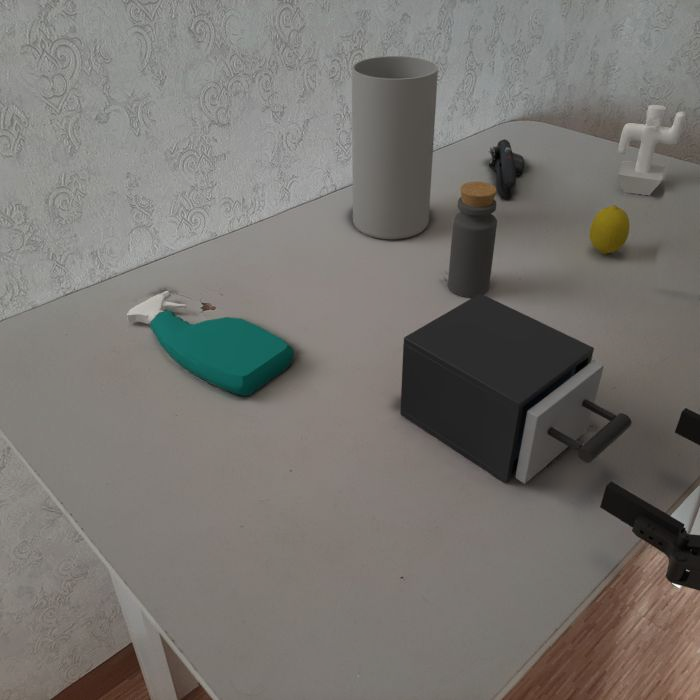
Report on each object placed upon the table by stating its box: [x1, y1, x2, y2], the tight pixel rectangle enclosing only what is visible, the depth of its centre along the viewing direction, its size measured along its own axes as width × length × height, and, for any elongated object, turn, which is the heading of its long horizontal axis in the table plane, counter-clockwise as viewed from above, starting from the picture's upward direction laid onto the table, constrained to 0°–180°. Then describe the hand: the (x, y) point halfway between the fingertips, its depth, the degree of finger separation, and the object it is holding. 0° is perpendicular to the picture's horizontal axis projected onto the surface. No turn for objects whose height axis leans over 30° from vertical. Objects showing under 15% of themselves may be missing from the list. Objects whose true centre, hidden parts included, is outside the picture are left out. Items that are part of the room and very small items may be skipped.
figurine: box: [617, 104, 687, 196], centre depth 125 cm, size 7×9×15 cm
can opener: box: [488, 139, 526, 200], centre depth 131 cm, size 18×7×6 cm, turn 170°
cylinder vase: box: [351, 55, 439, 240], centre depth 111 cm, size 12×12×25 cm
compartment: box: [514, 359, 633, 485], centre depth 73 cm, size 18×11×9 cm, turn 43°
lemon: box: [589, 204, 630, 255], centre depth 107 cm, size 6×6×8 cm
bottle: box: [447, 181, 498, 298], centre depth 98 cm, size 6×6×15 cm
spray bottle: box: [126, 290, 295, 397], centre depth 91 cm, size 3×11×24 cm
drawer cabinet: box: [399, 294, 595, 485], centre depth 76 cm, size 15×13×11 cm
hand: (644, 454), depth 65 cm, fingers open, 13 cm apart
